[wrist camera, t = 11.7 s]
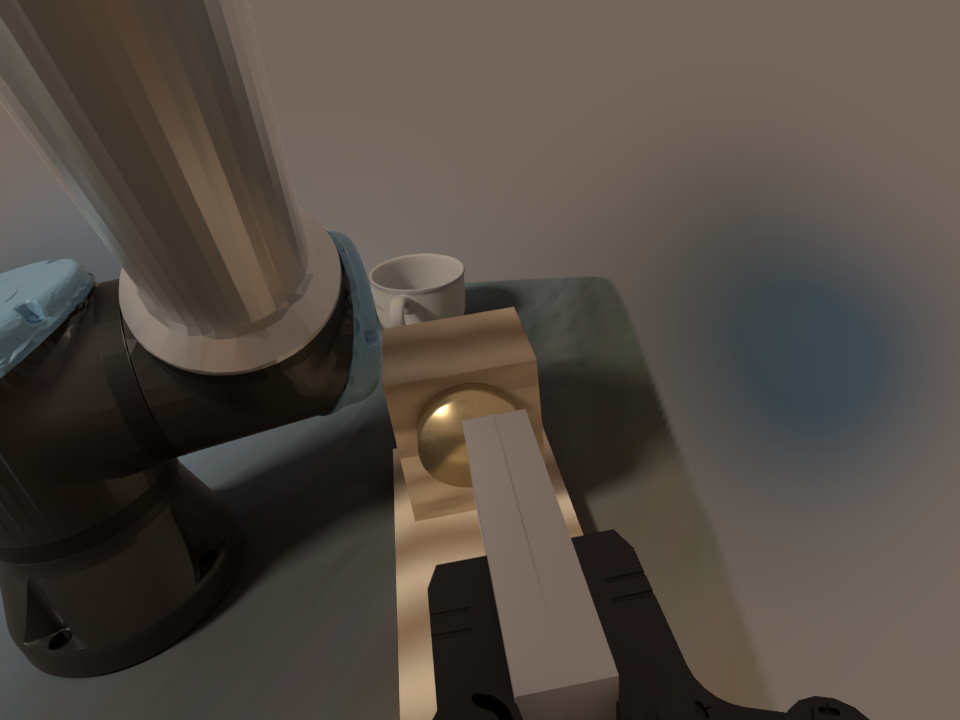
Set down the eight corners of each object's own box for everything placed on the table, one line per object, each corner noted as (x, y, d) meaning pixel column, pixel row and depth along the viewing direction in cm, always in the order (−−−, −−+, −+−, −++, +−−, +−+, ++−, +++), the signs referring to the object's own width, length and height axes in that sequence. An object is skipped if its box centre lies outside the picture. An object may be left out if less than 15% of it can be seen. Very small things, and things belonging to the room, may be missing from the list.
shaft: (530, 476, 42) (521, 391, 38) (427, 496, 41) (409, 411, 38) (501, 382, 52) (492, 307, 48) (418, 396, 52) (403, 322, 48)
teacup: (408, 306, 81) (397, 248, 77) (485, 312, 77) (477, 251, 72) (351, 362, 70) (334, 298, 66) (437, 373, 66) (425, 305, 62)
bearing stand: (638, 698, 34) (643, 524, 27) (405, 747, 34) (348, 581, 27) (542, 435, 55) (530, 297, 48) (396, 462, 54) (362, 326, 47)
